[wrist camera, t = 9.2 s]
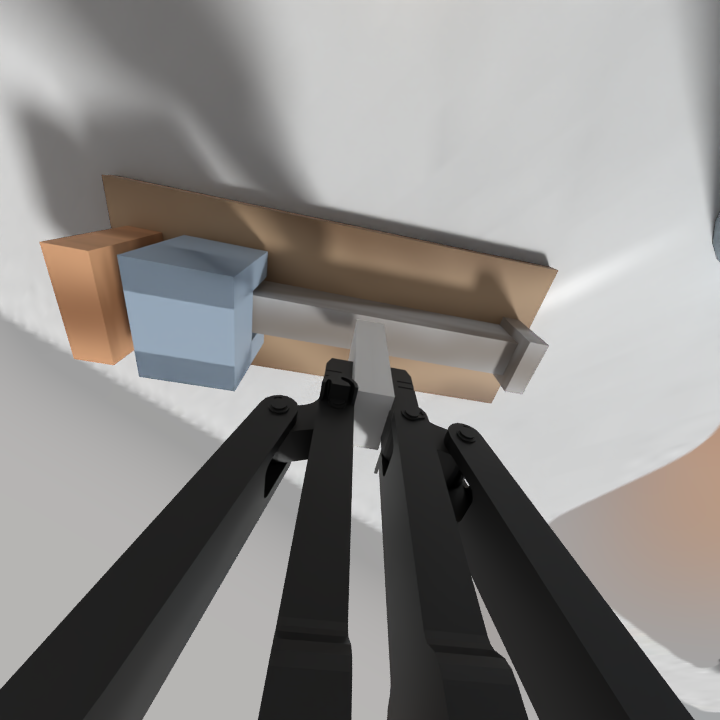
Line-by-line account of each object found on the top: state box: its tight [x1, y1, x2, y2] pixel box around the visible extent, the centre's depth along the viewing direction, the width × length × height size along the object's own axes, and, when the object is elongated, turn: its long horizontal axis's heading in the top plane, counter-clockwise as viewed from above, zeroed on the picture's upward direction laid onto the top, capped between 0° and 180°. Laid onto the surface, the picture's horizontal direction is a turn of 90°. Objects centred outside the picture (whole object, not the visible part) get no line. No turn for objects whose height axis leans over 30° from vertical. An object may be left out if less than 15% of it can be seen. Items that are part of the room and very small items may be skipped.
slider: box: [117, 235, 268, 391], centre depth 18 cm, size 6×5×6 cm
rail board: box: [40, 175, 558, 403], centre depth 19 cm, size 11×28×7 cm, turn 79°
